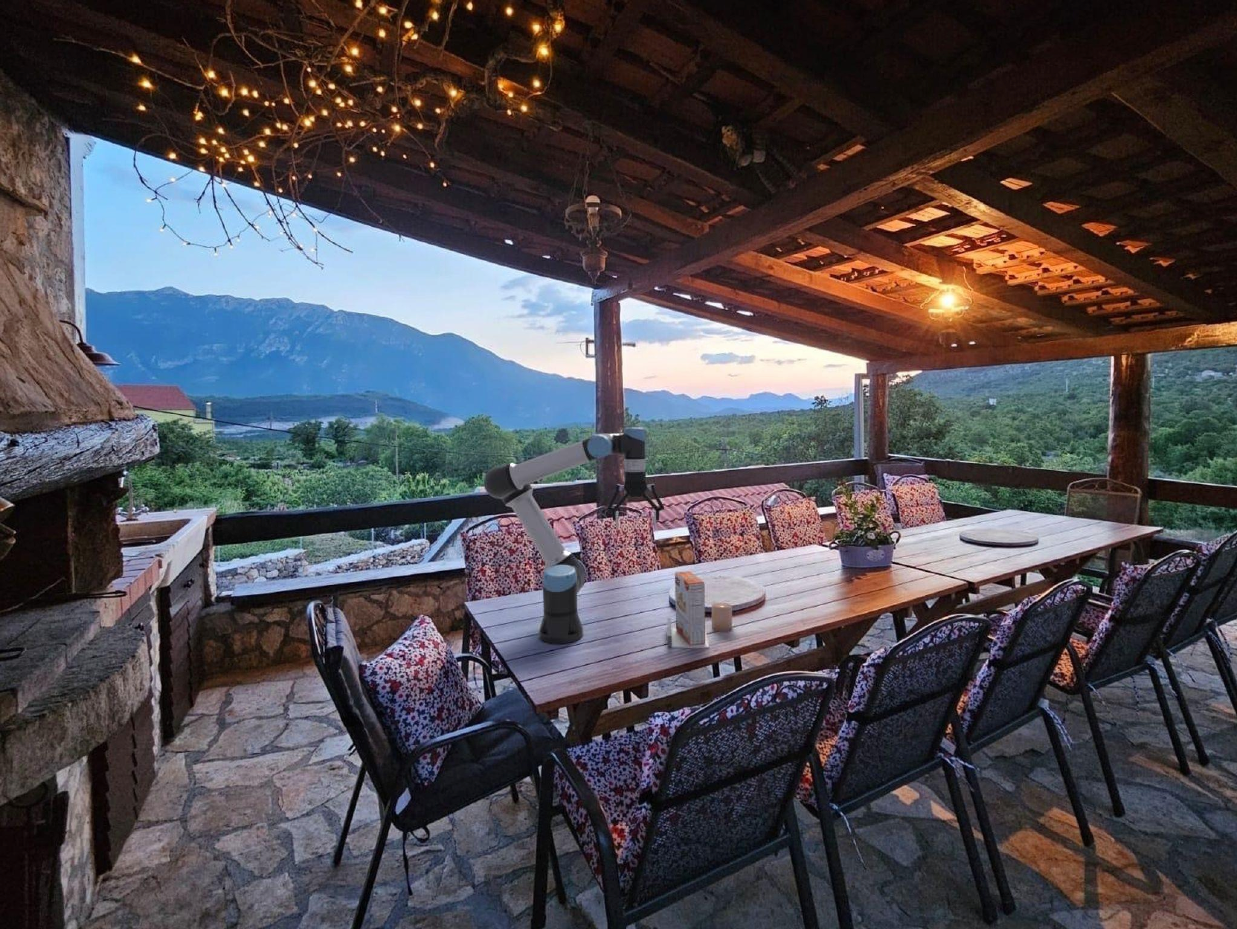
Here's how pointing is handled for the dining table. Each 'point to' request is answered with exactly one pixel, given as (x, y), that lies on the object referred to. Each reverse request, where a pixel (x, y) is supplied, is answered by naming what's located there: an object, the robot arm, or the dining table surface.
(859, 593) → the dining table surface
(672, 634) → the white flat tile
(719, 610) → the peach domed knob
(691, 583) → the cracker box
